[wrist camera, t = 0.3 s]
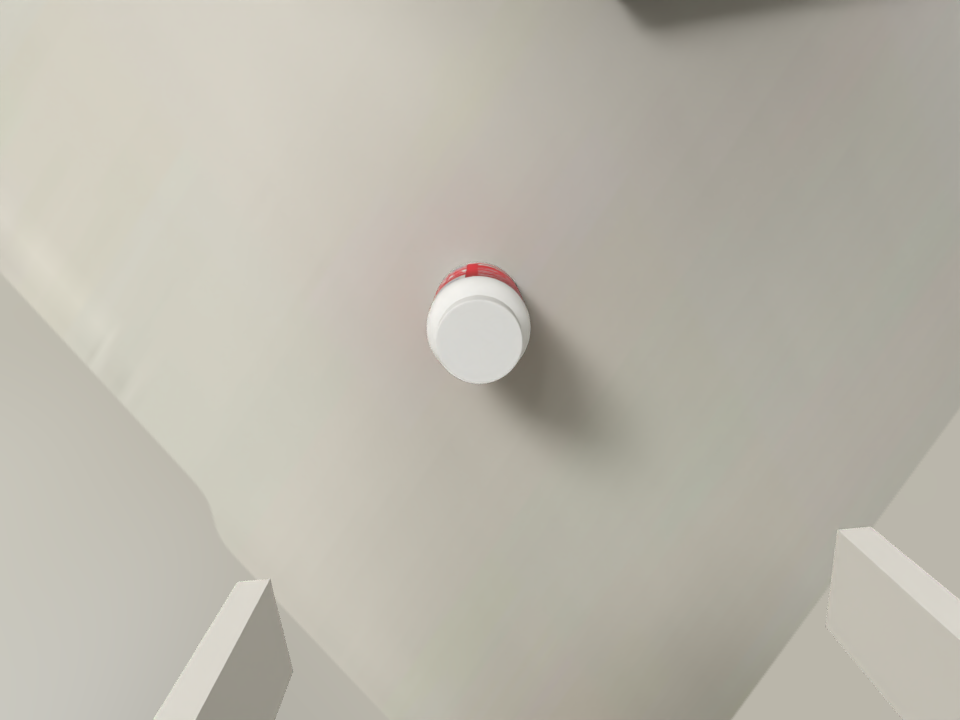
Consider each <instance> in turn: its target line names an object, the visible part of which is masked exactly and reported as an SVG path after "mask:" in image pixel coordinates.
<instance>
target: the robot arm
mask: <svg viewBox="0 0 960 720" xmlns="http://www.w3.org/2000/svg"><path fill="white" fill-rule="evenodd" d="M825 626H826V628H827V629H828V630H829V631H830V633H831V634H832V635H833V636H834V637H835V639H836V640H837V641H838V642H839V643H840V645H841V646H842V647H843V648H844V650H845V651H846V652H847V653H848V654H849V656H850V657H851V658H852V659H853V660H854V662H855V663H856V664H857V665H858V666H859V668H860V669H861V670H862V671H863V672H864V674H865V675H866V676H867V677H868V679H869V680H870V681H871V682H872V683H873V685H874V686H875V687H876V688H877V689H878V691H879V692H880V693H881V694H882V696H883V697H884V698H885V699H886V700H887V701H888V703H889V704H890V705H891V706H892V708H893V709H894V710H895V711H896V712H897V714H898V715H899V716H900V717H901V718H902V720H960V599H958V598H957V597H956V596H955V595H953V594H952V593H951V592H950V591H948V590H947V589H946V588H945V587H944V586H942V585H941V584H940V583H939V582H938V581H936V580H935V579H934V578H933V577H931V576H930V575H929V574H928V573H927V572H925V571H924V570H923V569H922V568H921V567H919V566H918V565H917V564H916V563H914V562H913V561H912V560H911V559H910V558H908V557H907V556H906V555H905V554H904V553H902V552H901V551H900V550H899V549H897V548H896V547H895V546H894V545H893V544H891V543H890V542H889V541H888V540H887V539H885V538H884V537H883V536H882V535H880V534H879V533H878V532H877V531H876V530H874V529H873V528H872V527H862V528H851V529H839V530H837V537H836V545H835V553H834V561H833V569H832V577H831V585H830V594H829V601H828V609H827V617H826V625H825ZM292 673H293V669H292V664H291V660H290V657H289V652H288V649H287V644H286V640H285V636H284V633H283V628H282V624H281V621H280V616H279V613H278V608H277V604H276V600H275V596H274V592H273V588H272V584H271V580H270V579H262V580H251V581H240V582H237V583H236V585H235V587H234V588H233V590H232V591H231V593H230V595H229V596H228V598H227V600H226V601H225V603H224V605H223V606H222V608H221V610H220V611H219V613H218V615H217V616H216V618H215V619H214V621H213V623H212V624H211V626H210V628H209V629H208V631H207V632H206V634H205V636H204V637H203V639H202V641H201V642H200V644H199V646H198V647H197V649H196V650H195V652H194V654H193V655H192V657H191V658H190V660H189V662H188V664H187V665H186V667H185V668H184V670H183V672H182V673H181V675H180V677H179V678H178V680H177V681H176V683H175V685H174V686H173V688H172V690H171V691H170V693H169V695H168V696H167V698H166V699H165V701H164V703H163V705H162V706H161V708H160V709H159V711H158V713H157V714H156V716H155V718H154V719H153V720H275V718H276V715H277V713H278V710H279V708H280V705H281V702H282V700H283V697H284V694H285V692H286V689H287V686H288V683H289V681H290V678H291V676H292Z"/></svg>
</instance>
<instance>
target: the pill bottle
mask: <svg viewBox="0 0 960 720" xmlns="http://www.w3.org/2000/svg"><path fill="white" fill-rule="evenodd" d="M426 330H427V338H428V343H429V346H430V348H431V350H432V352H433V354H434V356H435V357H436V359H437V360H438V361H439V362H440V364H442V365H443V366H444V367H445V369H446V370H447V371H448V372H449V373H450V374H451V375H453V376H454V377H456V378H458V379H460V380H462V381H464V382H467V383H472V384H486V383H491V382H494V381H497V380H499V379H501V378H502V377H504V376H506V375H507V374H508V373H509V372H510V371H511V370H512V369H513V368H514V367H515V365H516V364H517V362H518V361H519V360H520V358H521V357H522V355H523V354H524V352H525V350H526V348H527V345H528V342H529V339H530V331H531V324H530V316H529V313H528V310H527V307H526V305H525V303H524V301H523V299H522V296H521V294H520V292H519V290H518V288H517V286H516V284H515V283H514V281H513V280H512V278H511V277H510V276H509V275H508V274H507V273H506V272H505V271H503V270H502V269H500V268H499V267H497V266H495V265H492V264H489V263H484V262H471V263H467V264H463V265H461V266H459V267H457V268H455V269H454V270H452V271H451V272H450V273H449V274H448V275H446V277H445V278H444V279H443V281H442V282H441V284H440V286H439V288H438V290H437V292H436V295H435V297H434V300H433V302H432V305H431V307H430V310H429V314H428V318H427V327H426Z"/></svg>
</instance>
